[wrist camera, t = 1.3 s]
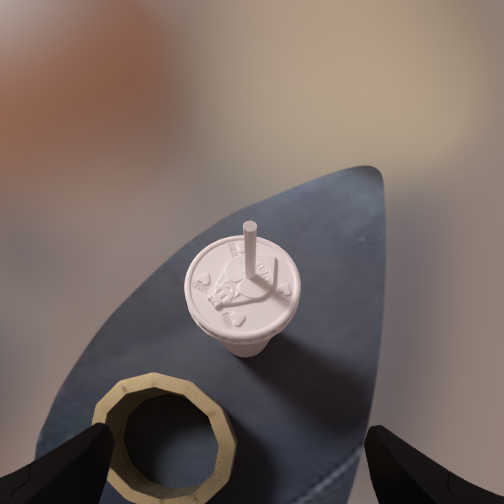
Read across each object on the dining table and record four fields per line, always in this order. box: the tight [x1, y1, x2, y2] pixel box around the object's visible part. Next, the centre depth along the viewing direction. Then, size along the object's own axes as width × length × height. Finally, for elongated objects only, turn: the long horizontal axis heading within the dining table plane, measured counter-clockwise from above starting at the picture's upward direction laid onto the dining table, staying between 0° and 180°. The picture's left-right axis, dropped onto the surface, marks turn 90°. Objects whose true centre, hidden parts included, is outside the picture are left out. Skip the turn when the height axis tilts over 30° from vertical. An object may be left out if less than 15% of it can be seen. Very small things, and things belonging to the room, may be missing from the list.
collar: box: [92, 372, 238, 504], centre depth 17 cm, size 10×10×4 cm
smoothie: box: [184, 221, 301, 357], centre depth 18 cm, size 6×6×14 cm
